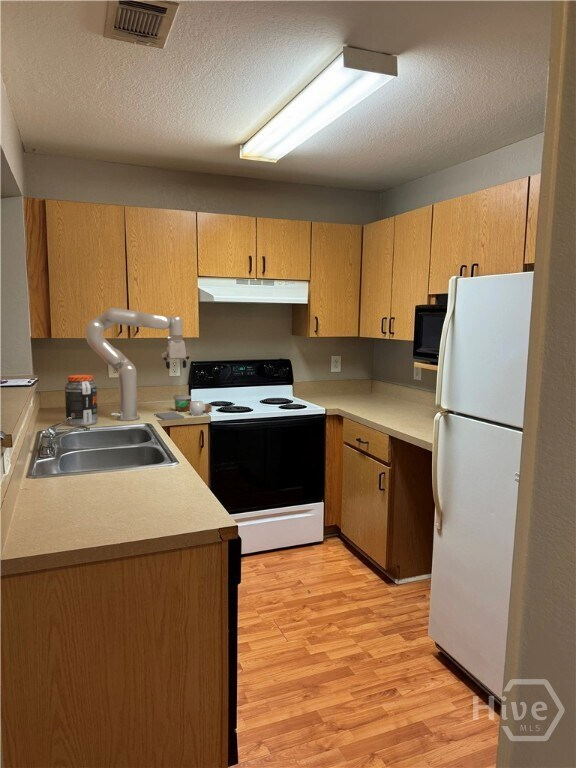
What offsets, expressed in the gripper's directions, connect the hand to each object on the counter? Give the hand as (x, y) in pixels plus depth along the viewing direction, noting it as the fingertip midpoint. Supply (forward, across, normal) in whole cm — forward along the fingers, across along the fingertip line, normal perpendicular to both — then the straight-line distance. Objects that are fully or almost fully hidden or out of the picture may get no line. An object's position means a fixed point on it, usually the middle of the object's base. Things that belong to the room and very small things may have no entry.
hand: (176, 368), depth 294 cm
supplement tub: (+28, -51, +6) cm, 59 cm away
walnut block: (+28, +20, +4) cm, 35 cm away
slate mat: (+28, -4, +2) cm, 29 cm away
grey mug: (+28, +12, -1) cm, 31 cm away
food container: (+28, +8, +15) cm, 33 cm away
